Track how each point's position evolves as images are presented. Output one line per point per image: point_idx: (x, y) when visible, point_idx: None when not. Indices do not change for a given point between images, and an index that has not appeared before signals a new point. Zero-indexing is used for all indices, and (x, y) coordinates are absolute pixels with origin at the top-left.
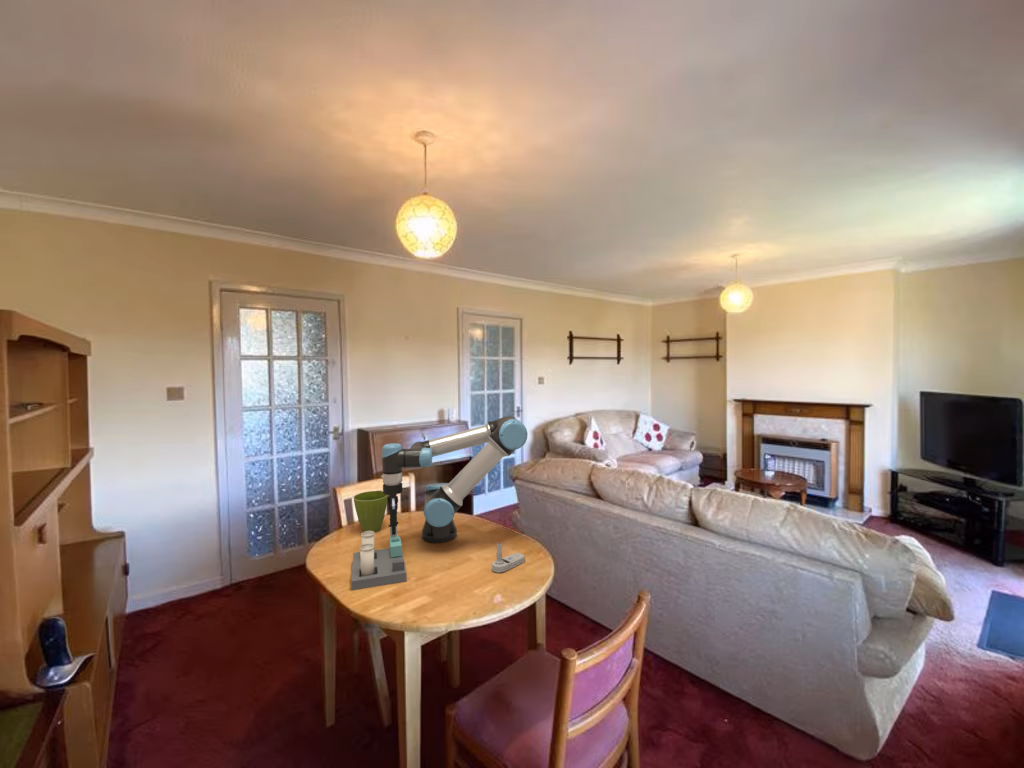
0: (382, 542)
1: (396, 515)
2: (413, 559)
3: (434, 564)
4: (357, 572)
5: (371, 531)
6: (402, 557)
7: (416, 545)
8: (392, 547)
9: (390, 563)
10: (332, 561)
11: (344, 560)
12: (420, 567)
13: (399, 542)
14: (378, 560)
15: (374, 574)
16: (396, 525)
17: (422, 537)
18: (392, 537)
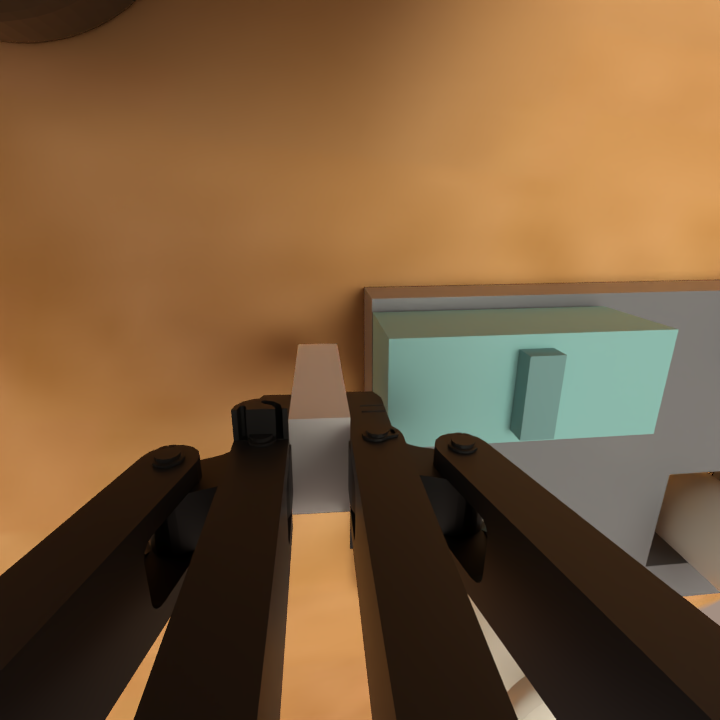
0: (72, 431)
1: (679, 605)
2: (511, 198)
3: (690, 22)
4: (680, 572)
5: (548, 711)
6: (617, 301)
7: (211, 135)
8: (652, 414)
9: (672, 393)
10: (333, 674)
11: (342, 624)
12: (677, 157)
13: (587, 349)
14: (576, 471)
15: (702, 474)
16: (480, 447)
17: (41, 32)
18: (408, 418)
